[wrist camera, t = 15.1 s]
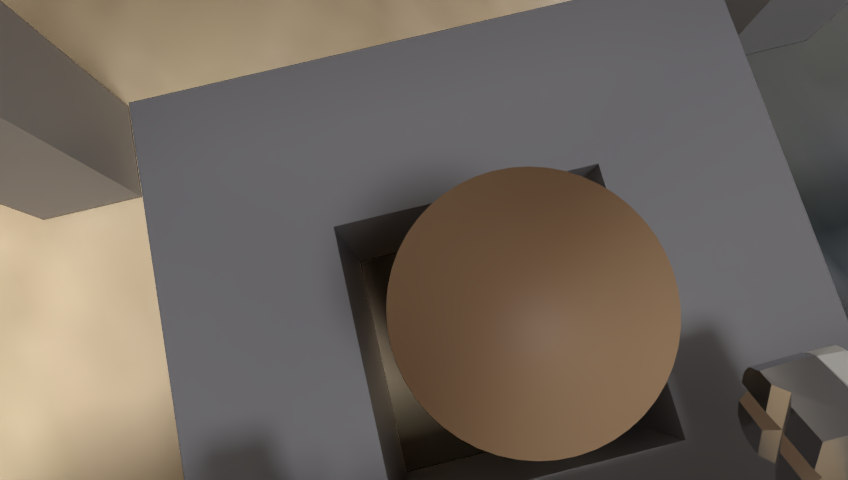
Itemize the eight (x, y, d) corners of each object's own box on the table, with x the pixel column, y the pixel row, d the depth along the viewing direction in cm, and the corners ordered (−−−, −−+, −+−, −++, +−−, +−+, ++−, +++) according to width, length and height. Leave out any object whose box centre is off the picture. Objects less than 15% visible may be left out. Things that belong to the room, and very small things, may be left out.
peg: (578, 310, 17) (730, 255, 8) (510, 436, 16) (596, 523, 8) (457, 241, 18) (476, 118, 9) (386, 360, 17) (330, 359, 8)
